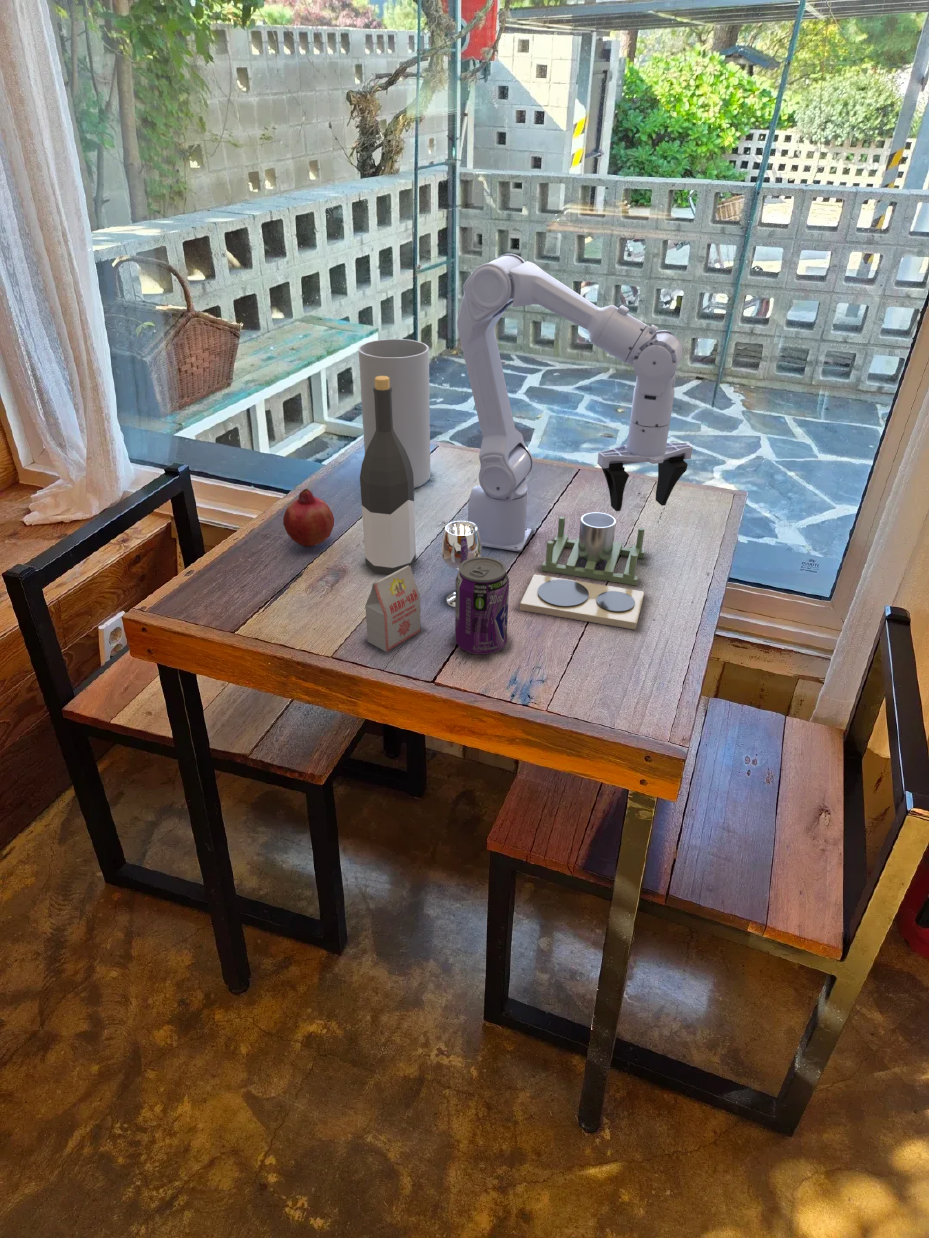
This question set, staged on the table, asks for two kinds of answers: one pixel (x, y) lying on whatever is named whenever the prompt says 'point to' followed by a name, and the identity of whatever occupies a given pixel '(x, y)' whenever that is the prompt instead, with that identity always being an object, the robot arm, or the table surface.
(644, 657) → the table surface
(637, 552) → the rack
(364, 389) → the cylinder vase
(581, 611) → the hob
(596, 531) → the pot
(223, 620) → the table surface
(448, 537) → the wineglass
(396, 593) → the tea bag
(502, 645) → the beverage can
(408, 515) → the wine bottle
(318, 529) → the fruit
